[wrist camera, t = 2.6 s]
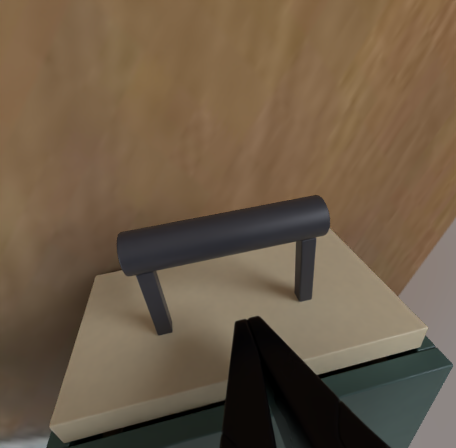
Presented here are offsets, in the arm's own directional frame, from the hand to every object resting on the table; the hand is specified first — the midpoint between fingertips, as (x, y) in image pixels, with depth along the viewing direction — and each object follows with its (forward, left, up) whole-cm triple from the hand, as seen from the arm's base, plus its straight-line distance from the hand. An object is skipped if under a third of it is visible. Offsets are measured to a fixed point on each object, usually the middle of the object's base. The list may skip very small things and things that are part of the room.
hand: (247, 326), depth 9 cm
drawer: (0, +6, -7) cm, 9 cm away
